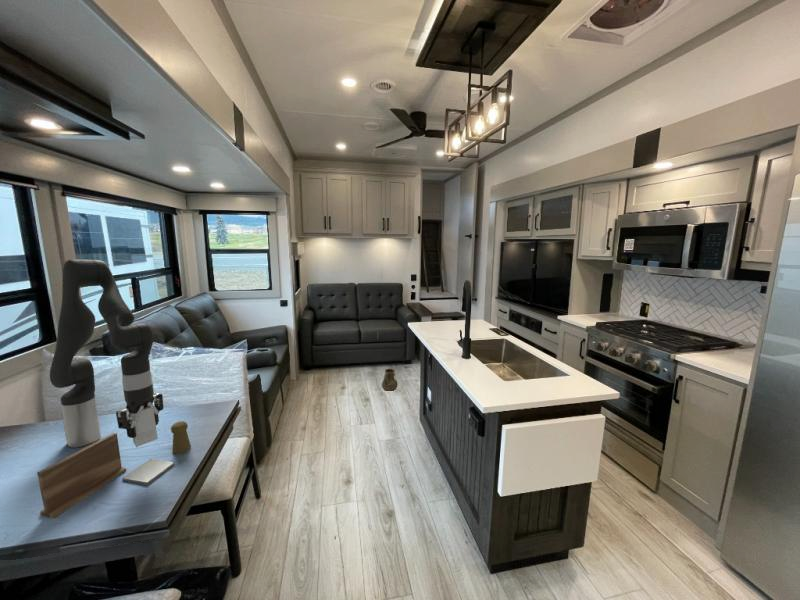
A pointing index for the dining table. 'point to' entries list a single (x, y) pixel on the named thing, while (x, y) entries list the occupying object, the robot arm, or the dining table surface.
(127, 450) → the dining table surface
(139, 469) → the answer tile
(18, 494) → the dining table surface
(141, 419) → the skincare box
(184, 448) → the olive stepped cylinder
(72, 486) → the walnut screen
